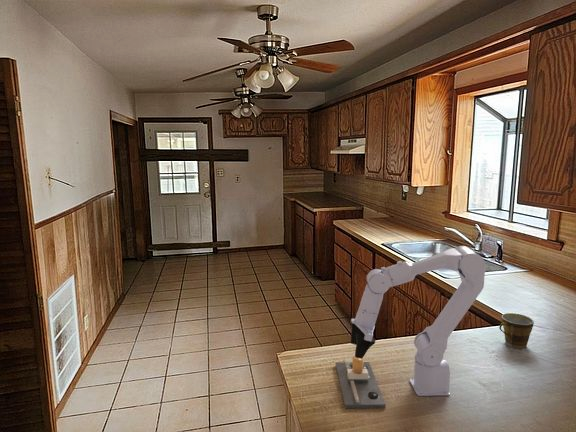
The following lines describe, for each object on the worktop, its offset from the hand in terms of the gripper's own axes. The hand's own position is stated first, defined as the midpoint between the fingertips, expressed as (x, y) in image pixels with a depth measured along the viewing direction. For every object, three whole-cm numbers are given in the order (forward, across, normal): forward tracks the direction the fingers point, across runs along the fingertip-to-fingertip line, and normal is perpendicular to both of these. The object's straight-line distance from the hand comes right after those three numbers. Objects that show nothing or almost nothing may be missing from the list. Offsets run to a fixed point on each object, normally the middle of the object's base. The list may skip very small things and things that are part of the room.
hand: (356, 350), depth 116 cm
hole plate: (+10, +1, +3) cm, 11 cm away
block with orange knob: (+9, 0, +3) cm, 9 cm away
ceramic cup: (-4, -22, +62) cm, 66 cm away
